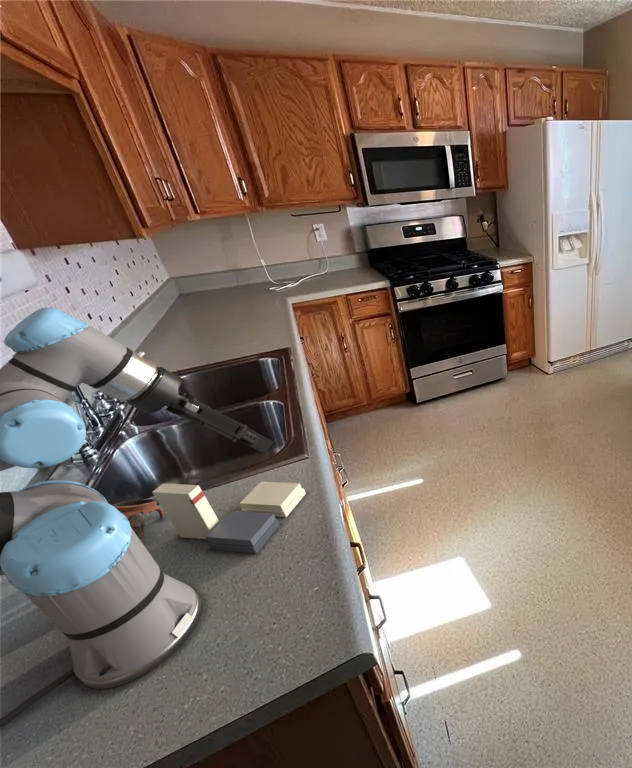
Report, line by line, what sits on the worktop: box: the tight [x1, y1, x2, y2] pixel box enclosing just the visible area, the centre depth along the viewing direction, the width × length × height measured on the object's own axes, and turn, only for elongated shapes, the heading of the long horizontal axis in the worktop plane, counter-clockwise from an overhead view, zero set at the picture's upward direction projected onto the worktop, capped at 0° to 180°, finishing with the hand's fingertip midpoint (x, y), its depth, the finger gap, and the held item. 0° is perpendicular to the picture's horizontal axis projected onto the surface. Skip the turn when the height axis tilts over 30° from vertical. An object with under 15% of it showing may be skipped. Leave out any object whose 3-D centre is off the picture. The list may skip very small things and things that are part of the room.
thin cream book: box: [151, 482, 221, 540], centre depth 80 cm, size 2×8×12 cm, turn 81°
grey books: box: [206, 510, 281, 554], centre depth 81 cm, size 7×10×3 cm
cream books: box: [239, 481, 307, 518], centre depth 89 cm, size 7×10×3 cm
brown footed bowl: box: [111, 498, 165, 540], centre depth 84 cm, size 12×10×8 cm
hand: (251, 440), depth 84 cm, fingers open, 13 cm apart
